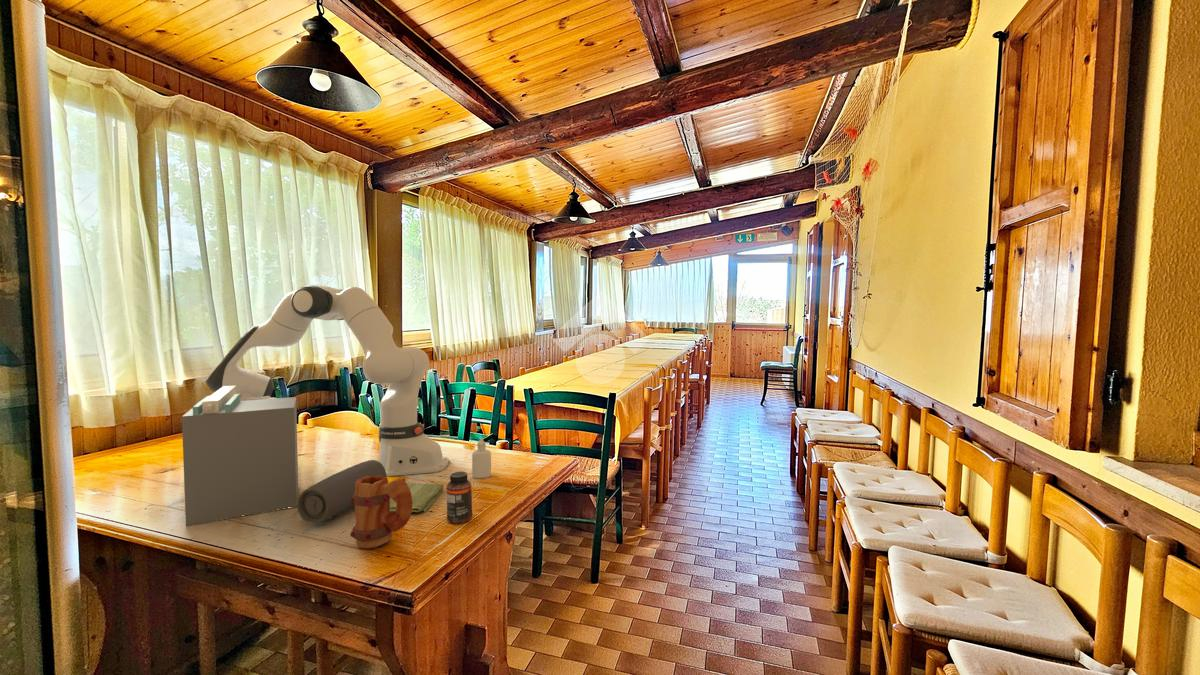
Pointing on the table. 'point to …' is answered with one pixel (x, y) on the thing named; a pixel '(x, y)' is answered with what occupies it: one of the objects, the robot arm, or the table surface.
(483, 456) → the eye dropper bottle
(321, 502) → the bluetooth speaker
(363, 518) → the mug
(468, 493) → the supplement bottle
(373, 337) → the robot arm
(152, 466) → the table surface
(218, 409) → the bar
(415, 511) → the washcloth
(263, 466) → the stand
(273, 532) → the table surface
